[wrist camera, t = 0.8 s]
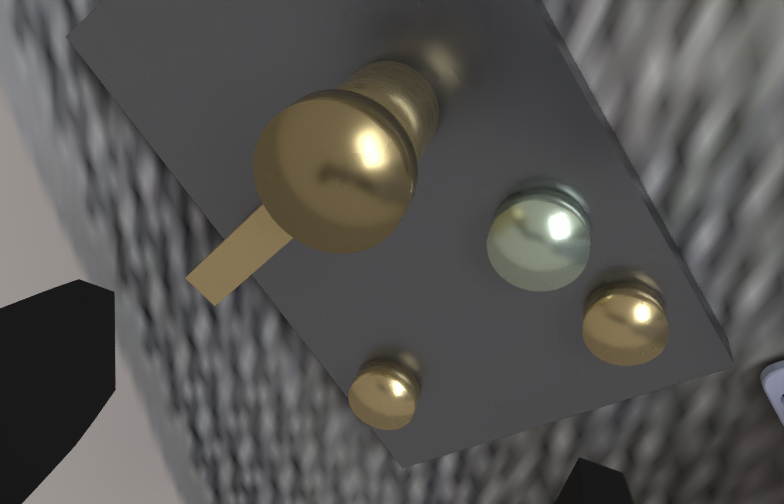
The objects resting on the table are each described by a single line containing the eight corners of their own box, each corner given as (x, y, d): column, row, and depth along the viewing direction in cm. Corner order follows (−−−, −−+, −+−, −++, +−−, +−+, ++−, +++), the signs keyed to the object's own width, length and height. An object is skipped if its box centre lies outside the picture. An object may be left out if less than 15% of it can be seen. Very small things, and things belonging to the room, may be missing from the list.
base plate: (727, 338, 18) (749, 419, 15) (411, 441, 23) (385, 517, 20) (400, -256, 14) (352, -287, 11) (94, 27, 19) (9, 54, 16)
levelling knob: (389, 18, 15) (323, 66, 11) (478, 119, 16) (441, 194, 12) (208, 203, 19) (114, 282, 15) (285, 279, 19) (213, 373, 16)
